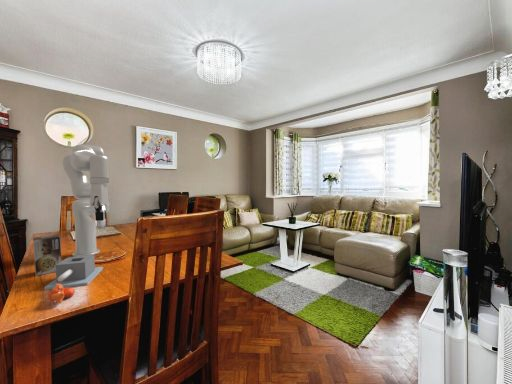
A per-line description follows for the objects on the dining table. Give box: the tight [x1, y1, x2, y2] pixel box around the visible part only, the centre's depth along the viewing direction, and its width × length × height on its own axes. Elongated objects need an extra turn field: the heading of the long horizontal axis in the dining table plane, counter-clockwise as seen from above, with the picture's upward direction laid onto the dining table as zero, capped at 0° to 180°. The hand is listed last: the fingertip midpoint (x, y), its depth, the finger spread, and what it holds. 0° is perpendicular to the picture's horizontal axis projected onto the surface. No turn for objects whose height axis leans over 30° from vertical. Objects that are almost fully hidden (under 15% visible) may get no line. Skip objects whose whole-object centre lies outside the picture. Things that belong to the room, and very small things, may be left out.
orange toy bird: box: [47, 284, 76, 305], centre depth 81 cm, size 5×8×12 cm
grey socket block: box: [44, 255, 104, 291], centre depth 96 cm, size 22×14×8 cm, turn 17°
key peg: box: [96, 204, 106, 230], centre depth 110 cm, size 3×3×12 cm
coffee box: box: [32, 234, 63, 277], centre depth 105 cm, size 9×6×16 cm
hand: (100, 219), depth 110 cm, fingers closed on key peg, 3 cm apart
